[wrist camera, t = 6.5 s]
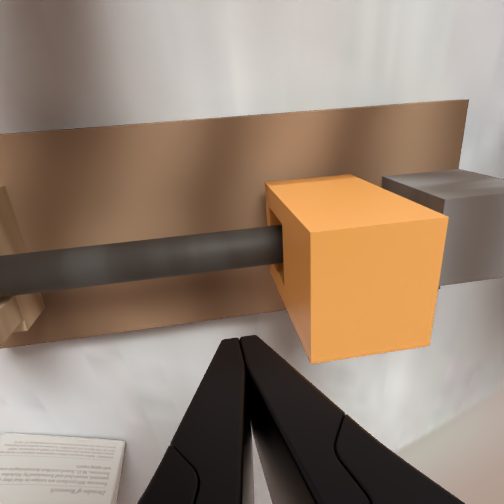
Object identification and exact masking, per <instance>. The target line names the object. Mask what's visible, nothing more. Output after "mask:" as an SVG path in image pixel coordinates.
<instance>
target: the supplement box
mask: <svg viewBox="0 0 504 504" xmlns="http://www.w3.org/2000/svg"><path fill="white" fill-rule="evenodd" d="M125 444H126V443H125V441H121V440H109V439H96V438H82V437H67V436H53V435H37V434H24V433H4V434H2V435H1V436H0V504H116V501H117V496H118V490H119V483H120V477H121V470H122V463H123V456H124V449H125Z"/></svg>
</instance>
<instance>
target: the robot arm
mask: <svg viewBox="0 0 504 504" xmlns="http://www.w3.org/2000/svg"><path fill="white" fill-rule="evenodd" d="M251 427H252V431H251ZM252 432H253V436H254V440H255V444H256V448H257V451H258V454H259V458H260V461H261V465H262V468H263V472H264V475H265V479H266V482H267V486H268V489H269V493H270V496H271V500H272V503H273V504H465V503H464V502H462V501H461V500H459V499H458V498H457V497H455V496H454V495H452V494H451V493H450V492H448V491H447V490H445V489H444V488H442V487H441V486H440V485H438V484H437V483H435V482H434V481H432V480H431V479H430V478H428V477H427V476H426V475H424V474H423V473H421V472H420V471H418V470H417V469H416V468H414V467H413V466H411V465H410V464H409V463H407V462H406V461H404V460H403V459H402V458H400V457H399V456H398V455H396V454H395V453H394V452H392V451H391V450H390V449H388V448H387V447H386V446H384V445H383V444H382V443H380V442H379V441H378V440H377V439H375V438H374V437H373V436H372V435H371V434H369V433H368V432H367V431H366V430H365V429H363V428H362V427H361V426H360V425H359V424H357V423H356V422H355V421H354V420H353V419H352V418H351V417H349V416H348V415H345V413H344V411H342V410H341V409H340V408H339V407H338V406H337V405H336V404H334V403H333V402H332V401H331V400H330V399H329V398H328V397H326V396H325V395H324V394H323V393H322V392H321V391H320V390H318V389H317V388H316V387H315V386H314V385H313V384H312V383H310V382H309V381H308V380H307V379H306V378H305V377H304V376H302V375H301V374H300V373H299V372H298V371H297V370H296V369H294V368H293V367H292V366H291V365H290V364H289V363H288V362H286V361H285V360H284V359H283V358H282V357H281V356H280V355H278V354H277V353H276V352H275V351H274V350H273V349H272V348H270V347H269V346H268V345H267V344H266V343H265V342H264V341H262V340H261V339H260V338H259V337H258V336H256V335H251V336H244V337H241V338H240V341H239V339H238V338H231V339H224V340H222V341H221V343H220V345H219V347H218V349H217V351H216V353H215V355H214V357H213V359H212V361H211V363H210V365H209V367H208V369H207V371H206V373H205V375H204V377H203V379H202V381H201V383H200V385H199V387H198V389H197V391H196V393H195V395H194V397H193V399H192V401H191V403H190V405H189V407H188V409H187V411H186V413H185V415H184V417H183V419H182V421H181V423H180V425H179V427H178V429H177V431H176V433H175V435H174V437H173V439H172V441H171V443H170V445H171V446H169V447H168V449H167V451H166V453H165V455H164V457H163V459H162V461H161V463H160V465H159V466H158V468H157V470H156V472H155V474H154V476H153V478H152V479H151V481H150V483H149V485H148V487H147V488H146V490H145V492H144V493H143V495H142V497H141V498H140V500H139V501H138V503H137V504H254V480H253V450H252Z"/></svg>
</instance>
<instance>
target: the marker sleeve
mask: <svg viewBox="0 0 504 504" xmlns="http://www.w3.org/2000/svg"><path fill="white" fill-rule="evenodd" d="M265 195H266V214H267V226H275V225H282V234H283V261H284V263H280V264H271V265H269V270H270V273H271V275H272V278H273V280H274V282H275V284H276V287H277V289H278V291H279V293H280V296H281V298H282V300H283V302H284V305H285V307H286V309H287V311H288V313H289V316H290V318H291V320H292V322H293V325H294V327H295V329H296V331H297V334H298V336H299V338H300V340H301V343H302V345H303V347H304V349H305V352H306V354H307V356H308V358H309V361H310V363H311V364H314V363H321V362H327V361H334V360H340V359H347V358H353V357H360V356H366V355H373V354H379V353H386V352H392V351H399V350H405V349H412V348H418V347H425V346H430V339H431V332H432V326H433V319H434V312H435V306H436V299H437V292H438V286H439V279H440V272H441V266H442V259H443V252H444V246H445V239H446V232H447V226H448V219H449V217H448V216H445V215H443V214H441V213H439V212H436V211H434V210H432V209H429V208H427V207H425V206H422V205H420V204H418V203H415V202H413V201H411V200H409V199H406V198H404V197H402V196H399V195H397V194H395V193H392V192H390V191H388V190H385V189H383V188H381V187H379V186H376V185H374V184H372V183H369V182H367V181H365V180H362V179H360V178H358V177H355V176H353V175H351V174H348V175H338V176H327V177H317V178H307V179H296V180H286V181H275V182H265Z"/></svg>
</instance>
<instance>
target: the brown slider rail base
mask: <svg viewBox="0 0 504 504" xmlns="http://www.w3.org/2000/svg"><path fill="white" fill-rule="evenodd" d="M468 102H469V100H446V101H433V102H419V103H406V104H393V105H380V106H367V107H354V108H340V109H327V110H314V111H301V112H288V113H275V114H261V115H248V116H235V117H222V118H209V119H195V120H182V121H169V122H156V123H143V124H130V125H116V126H103V127H90V128H77V129H64V130H51V131H37V132H24V133H11V134H0V349H1V348H9V347H16V346H23V345H31V344H38V343H45V342H53V341H60V340H67V339H75V338H82V337H90V336H97V335H104V334H112V333H119V332H126V331H134V330H141V329H148V328H156V327H163V326H171V325H178V324H185V323H193V322H200V321H207V320H215V319H222V318H229V317H237V316H244V315H251V314H259V313H266V312H274V311H281V310H287V309H286V307H285V305H284V302H283V300H282V298H281V296H280V293H279V291H278V289H277V287H276V284H275V282H274V280H273V278H272V275H271V273H270V270H269V265H271V264H280V263H284V261H283V234H282V225H275V226H267V214H266V195H265V182H275V181H286V180H296V179H307V178H317V177H327V176H338V175H348V174H351V175H353V176H355V177H358V178H360V179H362V180H365V181H367V182H369V183H372V184H374V185H376V186H379V187H381V188H383V189H385V190H388V191H390V192H392V193H395V194H397V195H399V196H402V197H404V198H406V199H409V200H411V201H413V202H415V203H418V204H420V205H422V206H425V207H427V208H429V209H432V210H434V211H436V212H439V213H441V214H443V215H445V216H448V217H449V219H448V226H447V232H446V239H445V246H444V252H443V259H442V266H441V272H440V279H439V286H438V289H440V286H442V285H450V284H457V283H465V282H472V281H479V280H487V279H494V278H502V277H504V180H503V179H499V178H495V177H491V176H486V175H482V174H478V173H474V172H469V171H465V170H461V169H458V168H459V161H460V154H461V148H462V141H463V135H464V128H465V122H466V115H467V109H468Z"/></svg>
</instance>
